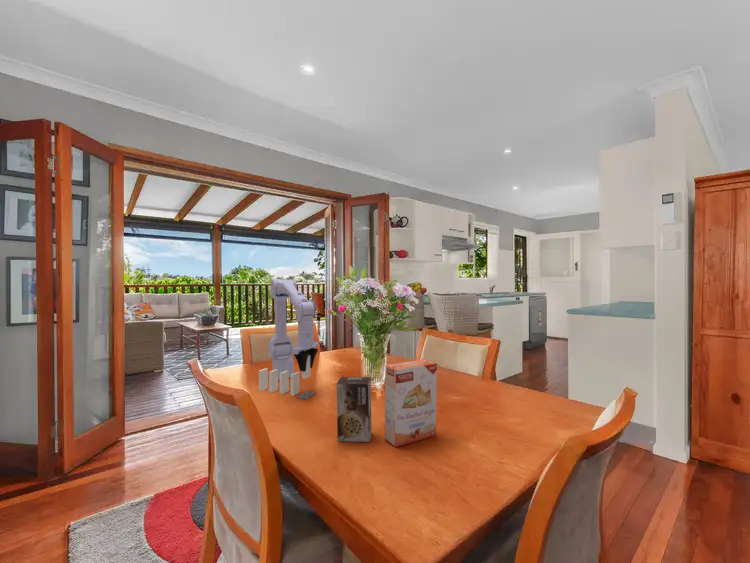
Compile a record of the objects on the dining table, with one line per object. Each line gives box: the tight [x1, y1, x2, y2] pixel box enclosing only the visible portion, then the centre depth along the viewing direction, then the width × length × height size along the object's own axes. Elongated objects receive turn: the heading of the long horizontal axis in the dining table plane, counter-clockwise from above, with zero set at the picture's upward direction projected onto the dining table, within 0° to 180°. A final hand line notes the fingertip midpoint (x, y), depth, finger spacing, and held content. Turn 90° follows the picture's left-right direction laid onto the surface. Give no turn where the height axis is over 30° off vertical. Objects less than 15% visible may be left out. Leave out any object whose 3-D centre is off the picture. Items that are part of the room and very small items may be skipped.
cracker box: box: [384, 358, 438, 448], centre depth 98 cm, size 14×6×21 cm, turn 120°
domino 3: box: [279, 371, 290, 395], centre depth 136 cm, size 4×1×8 cm, turn 158°
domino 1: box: [258, 367, 269, 392], centre depth 140 cm, size 4×1×8 cm, turn 158°
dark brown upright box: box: [335, 376, 373, 443], centre depth 99 cm, size 9×6×16 cm
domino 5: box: [301, 355, 312, 380], centre depth 133 cm, size 4×1×8 cm, turn 158°
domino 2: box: [268, 369, 279, 394], centre depth 138 cm, size 4×1×8 cm, turn 158°
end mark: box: [296, 390, 317, 400], centre depth 133 cm, size 7×4×1 cm, turn 158°
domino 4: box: [290, 371, 300, 397], centre depth 135 cm, size 4×1×8 cm, turn 158°
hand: (306, 369), depth 133 cm, fingers closed on domino 5, 4 cm apart
